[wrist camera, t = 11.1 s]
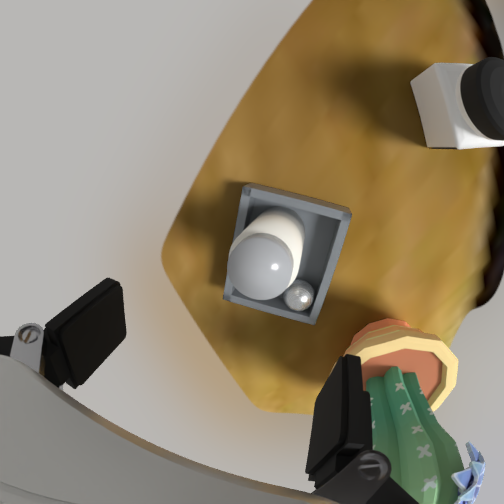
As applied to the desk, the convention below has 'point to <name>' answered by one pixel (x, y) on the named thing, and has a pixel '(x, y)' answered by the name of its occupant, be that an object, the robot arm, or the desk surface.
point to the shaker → (267, 254)
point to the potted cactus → (415, 411)
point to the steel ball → (299, 295)
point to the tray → (314, 249)
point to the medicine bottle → (462, 104)
